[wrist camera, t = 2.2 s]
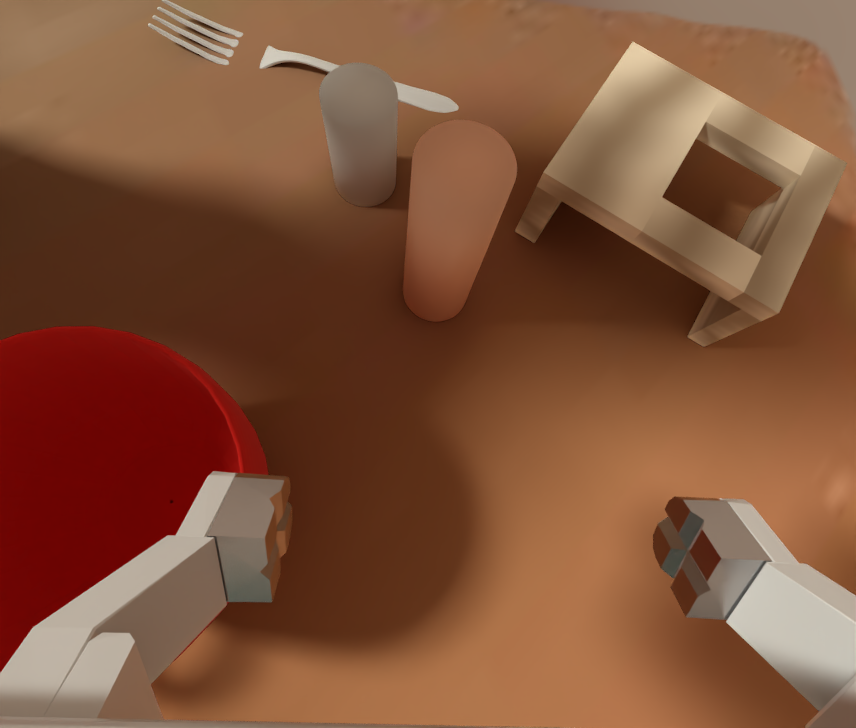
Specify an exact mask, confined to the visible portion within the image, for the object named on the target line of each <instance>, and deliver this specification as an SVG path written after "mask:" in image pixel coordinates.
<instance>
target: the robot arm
mask: <svg viewBox="0 0 856 728" xmlns="http://www.w3.org/2000/svg"><path fill="white" fill-rule="evenodd" d="M290 491H291V488H290V479H289V477H287V476H276V475H263V474H250V473H230V472H218V471H213V472H212V473H211V474H210V475H209V476H208V477H207V478H206V480H205V482H204V484H203V486H202V488H201V489H200V491H199V493H198V495H197V497H196V499H195V500H194V502H193V504H192V506H191V508H190V510H189V512H188V513H187V515H186V517H185V519H184V521H183V523H182V525H181V526H180V528H179V530H178V532H177V534H176V536H174V535H167V536H166V537H164V538H163V539H161V540H160V541H159V542H157V543H156V544H154V545H153V546H151V547H150V548H148V549H147V550H145V551H144V552H142V553H141V554H140V555H138V556H137V557H135V558H134V559H132V560H131V561H129V562H128V563H126V564H125V565H123V566H122V567H120V568H119V569H118V570H116V571H115V572H113V573H112V574H110V575H109V576H107V577H106V578H104V579H103V580H101V581H100V582H99V583H97V584H96V585H94V586H93V587H91V588H90V589H88V590H87V591H85V592H84V593H82V594H81V595H80V596H78V597H77V598H75V599H74V600H72V601H71V602H69V603H68V604H66V605H65V606H63V607H62V608H60V609H59V610H58V611H56V612H55V613H53V614H52V615H50V616H49V617H47V618H46V619H44V620H43V621H41V622H40V623H39V624H37V625H36V626H34V627H33V628H32V629H31V631H30V632H29V634H28V635H27V636H26V638H25V639H24V641H23V642H22V643H21V645H20V646H19V648H18V649H17V650H16V652H15V653H14V655H13V656H12V657H11V659H10V660H9V662H8V663H7V664H6V666H5V667H4V669H3V670H2V671H1V673H0V728H558V727H508V726H457V725H407V724H357V723H307V722H258V721H208V720H164V719H163V716H162V714H161V711H160V708H159V705H158V703H157V700H156V697H155V695H154V692H153V689H152V687H151V684H152V683H153V682H154V681H155V680H156V678H157V677H158V676H159V675H160V674H161V673H162V672H163V671H164V670H165V669H166V668H167V667H168V666H169V665H170V664H171V663H172V662H173V661H174V660H175V659H176V658H177V656H178V655H179V654H180V653H181V652H182V651H183V650H184V649H185V648H186V647H187V646H188V645H189V644H190V643H191V642H192V641H193V640H194V639H195V638H196V637H197V636H198V635H199V633H200V632H201V631H202V630H203V629H204V628H205V627H206V626H207V625H208V624H209V623H210V622H211V621H212V620H213V619H214V618H215V617H216V616H217V615H218V614H219V613H220V612H221V610H222V609H223V608H224V607H225V606H226V605H227V602H272V601H273V598H274V594H275V591H276V587H277V584H278V580H279V577H280V573H281V567H280V557H281V556H283V555H284V554H285V553H286V552H287V548H288V544H289V540H290V534H291V528H292V505H291V504H290V503H289V502H288V498H289V494H290ZM665 511H666V513H667V516H668V517H667V518H665V519H664V520H663V521H661V522H660V523H658V524H657V527H656V529H655V532H654V534H653V549H654V553H655V557H656V559H657V561H658V563H659V565H660V568H661V569H662V570H664V571H665V572H666V573H667V574H668V575H670V576H671V577H672V578H673V579H672V583H671V589H672V591H673V593H674V595H675V597H676V599H677V601H678V603H679V605H680V607H681V609H682V611H683V613H684V614H685V616H686V617H691V618H706V619H721V620H727V621H726V623H728V624H729V625H730V626H731V627H732V628H733V629H734V630H735V631H736V632H737V633H738V634H739V635H740V636H741V637H742V638H743V639H744V640H745V641H746V642H747V643H748V644H749V645H750V646H751V647H753V648H754V649H755V650H756V651H757V652H758V653H759V654H760V655H761V656H762V657H763V658H764V659H765V660H766V661H767V662H768V663H769V664H770V665H771V666H772V667H773V668H774V669H775V670H776V671H777V672H779V673H780V674H781V675H782V676H783V677H784V678H785V679H786V680H787V681H788V682H789V683H790V684H791V685H792V686H793V687H794V688H795V689H796V690H797V691H798V692H799V693H800V694H801V695H802V696H804V697H805V698H806V699H807V700H808V701H809V702H810V703H811V704H812V705H813V706H814V707H815V708H816V709H817V710H818V711H819V712H818V713H817V714H816V715H815V716H814V717H813V718H812V719H811V720H810V721H809V722H808V723H807V724H806V726H805V728H856V595H854V594H853V593H851V592H849V591H848V590H846V589H845V588H843V587H842V586H840V585H839V584H837V583H835V582H834V581H832V580H831V579H829V578H828V577H826V576H825V575H823V574H821V573H820V572H818V571H817V570H815V569H814V568H812V567H811V566H809V565H807V564H803V563H798V561H797V560H796V559H795V558H794V557H793V555H792V554H791V553H790V552H789V550H788V549H787V548H786V547H785V545H784V544H783V543H782V542H781V540H780V539H779V538H778V537H777V535H776V534H775V533H774V532H773V531H772V529H771V528H770V527H769V526H768V524H767V523H766V522H765V521H764V519H763V518H762V517H761V516H760V514H759V513H758V512H757V511H756V510H755V508H754V507H753V506H752V505H751V504H750V503H749V502H747V501H745V500H744V499H722V498H721V499H717V498H697V497H673V498H672V499H671V500H669V502H668V504H667V506H666V508H665Z"/></svg>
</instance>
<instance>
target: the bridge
mask: <svg viewBox="0 0 856 728" xmlns="http://www.w3.org/2000/svg"><path fill="white" fill-rule="evenodd" d="M695 139H698V140H699V141H701V142H703V143H705V144H706V145H708V146H710V147H712V148H713V149H715V150H717V151H719V152H720V153H722V154H724V155H725V156H727V157H729V158H731V159H732V160H734V161H736V162H738V163H739V164H741V165H743V166H745V167H746V168H748V169H750V170H751V171H753V172H755V173H757V174H758V175H760V176H762V177H764V178H765V179H767V180H769V181H771V182H772V183H774V184H776V185H777V186H779V187H781V189H780V190H778V191H777V192H776V193H775V194H773V195H772V196H771V197H769V198H768V199H767V200H765V201H764V202H763V203H762V204H760V205H759V206H758V207H756V208H755V209H754V210H752V211H751V213H750V215H749V217H748V219H747V220H746V222H745V224H744V226H743V228H742V230H741V232H740V234H739V236H738V238H737V240H736V241H735V240H734V239H732V238H730V237H729V236H727V235H725V234H724V233H722V232H720V231H718V230H717V229H715V228H713V227H712V226H710V225H708V224H707V223H705V222H703V221H702V220H700V219H698V218H696V217H695V216H693V215H691V214H690V213H688V212H686V211H685V210H683V209H681V208H679V207H678V206H676V205H674V204H673V203H671V202H669V201H668V200H666V199H664V198H663V197H662V196H663V194H664V192H665V191H666V189H667V187H668V186H669V184H670V182H671V180H672V179H673V177H674V175H675V174H676V172H677V170H678V168H679V167H680V165H681V163H682V162H683V160H684V158H685V157H686V155H687V153H688V151H689V150H690V148H691V146H692V145H693V143H694V141H695ZM846 165H847V163H846V162H845V161H843V160H841V159H839V158H837V157H836V156H834V155H832V154H830V153H829V152H827V151H825V150H823V149H822V148H820V147H818V146H816V145H814V144H813V143H811V142H809V141H807V140H806V139H804V138H802V137H800V136H799V135H797V134H795V133H793V132H792V131H790V130H788V129H786V128H784V127H783V126H781V125H779V124H777V123H776V122H774V121H772V120H770V119H769V118H767V117H765V116H763V115H761V114H760V113H758V112H756V111H754V110H753V109H751V108H749V107H747V106H746V105H744V104H742V103H740V102H739V101H737V100H735V99H733V98H731V97H730V96H728V95H726V94H724V93H723V92H721V91H719V90H717V89H716V88H714V87H712V86H710V85H709V84H707V83H705V82H703V81H701V80H700V79H698V78H696V77H694V76H693V75H691V74H689V73H687V72H686V71H684V70H682V69H680V68H678V67H677V66H675V65H673V64H671V63H670V62H668V61H666V60H664V59H663V58H661V57H659V56H657V55H656V54H654V53H652V52H650V51H648V50H647V49H645V48H643V47H641V46H640V45H638V44H636V43H634V42H632V44H631V45H630V47H629V48H628V49H627V51H626V52H625V54H624V55H623V57H622V58H621V60H620V61H619V63H618V64H617V65H616V67H615V68H614V70H613V71H612V73H611V74H610V76H609V77H608V79H607V80H606V82H605V83H604V84H603V86H602V87H601V89H600V90H599V92H598V93H597V95H596V96H595V98H594V99H593V101H592V102H591V103H590V105H589V106H588V108H587V109H586V111H585V112H584V114H583V115H582V117H581V118H580V119H579V121H578V122H577V124H576V125H575V127H574V128H573V130H572V131H571V133H570V134H569V136H568V137H567V138H566V140H565V141H564V143H563V144H562V146H561V147H560V149H559V150H558V152H557V153H556V154H555V156H554V157H553V159H552V160H551V162H550V163H549V165H548V166H547V168H546V169H545V171H544V172H543V174H542V176H541V178H540V180H539V182H538V184H537V186H536V188H535V190H534V192H533V194H532V197H531V199H530V201H529V203H528V205H527V207H526V209H525V211H524V213H523V215H522V217H521V219H520V221H519V223H518V225H517V227H516V229H515V232H516V233H518V234H520V235H521V236H523V237H525V238H526V239H528V240H530V241H531V242H533V243H535V241H536V240H537V238H538V237H539V235H540V234H541V232H542V231H543V229H544V228H545V226H546V225H547V223H548V222H549V220H550V219H551V217H552V215H553V214H554V212H555V211H556V209H557V208H558V206H559V205H560V203H561V202H564V203H565V204H567V205H569V206H570V207H572V208H574V209H575V210H577V211H579V212H580V213H582V214H584V215H585V216H587V217H589V218H590V219H592V220H594V221H595V222H597V223H599V224H600V225H602V226H604V227H605V228H607V229H609V230H610V231H612V232H614V233H615V234H617V235H619V236H620V237H622V238H624V239H625V240H627V241H629V242H630V243H632V244H634V245H635V246H637V247H638V248H640V249H642V250H643V251H645V252H647V253H648V254H650V255H652V256H653V257H655V258H657V259H658V260H660V261H662V262H663V263H665V264H667V265H668V266H670V267H672V268H673V269H675V270H677V271H678V272H680V273H682V274H683V275H685V276H687V277H688V278H690V279H692V280H693V281H695V282H697V283H698V284H700V285H702V286H703V287H705V288H707V289H708V290H710V293H709V295H708V297H707V299H706V301H705V303H704V305H703V307H702V309H701V310H700V312H699V314H698V316H697V318H696V320H695V322H694V324H693V326H692V328H691V330H690V332H689V334H688V336H687V337H688V338H690V339H691V340H693V341H694V342H696V343H698V344H699V345H701V346H703V347H705V346H707V345H710V344H712V343H714V342H716V341H719V340H721V339H723V338H725V337H727V336H730V335H732V334H734V333H736V332H738V331H741V330H743V329H745V328H747V327H750V326H752V325H754V324H756V323H758V322H761V321H763V320H765V319H767V318H769V317H772V316H774V315H776V314H778V313H779V312H780V310H781V307H782V305H783V303H784V301H785V299H786V296H787V294H788V292H789V290H790V288H791V285H792V283H793V281H794V279H795V277H796V275H797V272H798V270H799V268H800V266H801V264H802V261H803V259H804V257H805V255H806V253H807V250H808V248H809V246H810V244H811V242H812V239H813V237H814V235H815V233H816V231H817V228H818V226H819V224H820V222H821V220H822V217H823V215H824V213H825V211H826V209H827V207H828V204H829V202H830V200H831V198H832V196H833V193H834V191H835V189H836V187H837V185H838V182H839V180H840V178H841V176H842V174H843V171H844V169H845V167H846Z"/></svg>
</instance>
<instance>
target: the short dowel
mask: <svg viewBox="0 0 856 728" xmlns="http://www.w3.org/2000/svg"><path fill="white" fill-rule="evenodd" d="M319 97H320V103H321V109H322V115H323V120H324V126H325V131H326V137H327V143H328V148H329V154H330V160H331V165H332V171H333V177H334V182H335V186H336V189H337V191H338V193H339V194H340V196H341V197H342V198H343V199H344V200H346V201H347V202H349V203H351V204H353V205H356V206H361V207H371V206H376V205H379V204H381V203H383V202H384V201H386V200H387V199H388V198H389V197H390V196H391V195H392V193H393V191H394V189H395V186H396V160H397V116H398V92H397V88H396V85H395V83H394V81H393V80H392V78H391V77H390V76H389V75H388V74H387V73H386V72H384V71H383V70H381V69H380V68H378V67H375V66H373V65H370V64H365V63H349V64H345V65H341V66H339V67H337V68H335V69H333V70H332V71H331V72H329V73H328V74H327V75H326V77H325V78H324V79H323V81H322V83H321V86H320V90H319Z"/></svg>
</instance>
